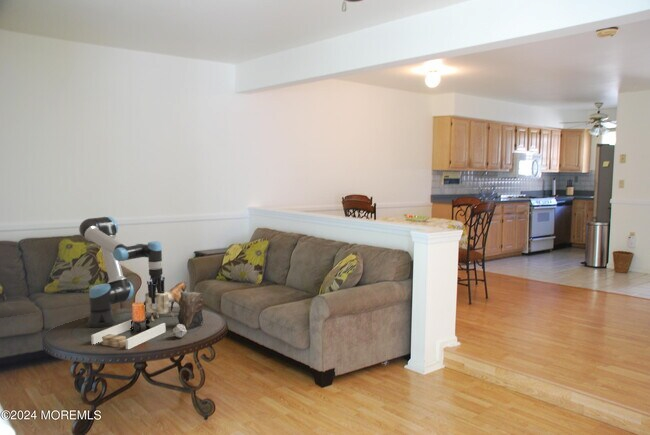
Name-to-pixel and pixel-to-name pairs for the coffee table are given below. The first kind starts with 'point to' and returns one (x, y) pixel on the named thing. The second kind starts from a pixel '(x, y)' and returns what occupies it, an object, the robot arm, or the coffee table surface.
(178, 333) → the game die
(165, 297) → the beige stone slab
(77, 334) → the coffee table surface
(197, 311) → the brown rough tall block
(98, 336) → the rack
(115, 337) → the offcut stack
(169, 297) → the horse figurine
